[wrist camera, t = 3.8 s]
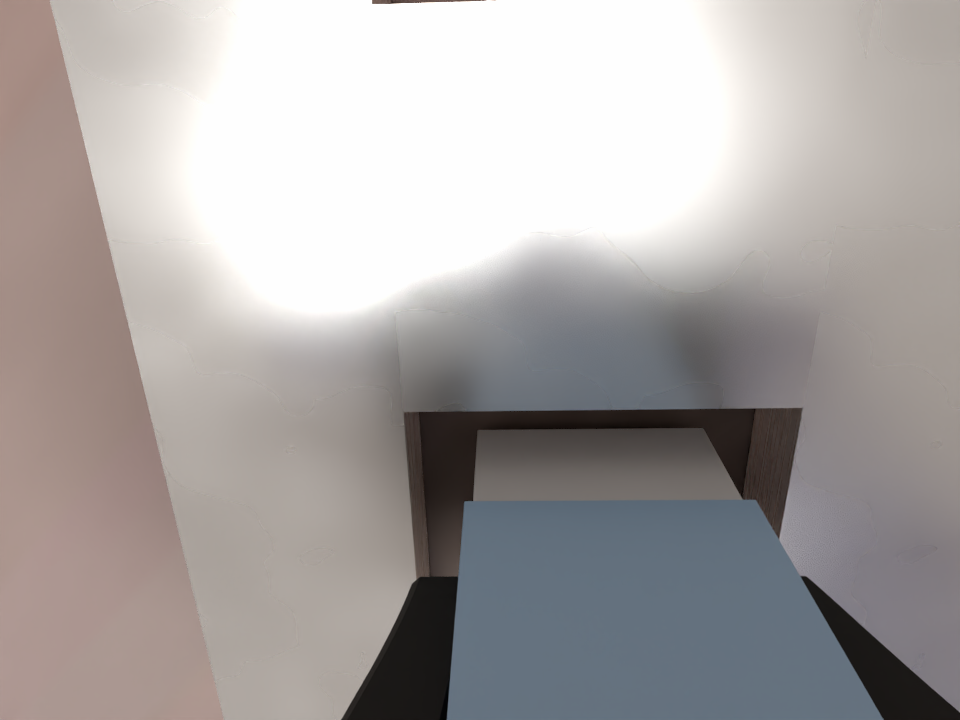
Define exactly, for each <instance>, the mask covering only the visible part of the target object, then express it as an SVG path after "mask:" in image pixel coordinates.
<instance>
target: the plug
mask: <svg viewBox="0 0 960 720" xmlns="http://www.w3.org/2000/svg"><path fill="white" fill-rule="evenodd" d="M447 720H883V718H882V716H881V715H880V713H879V711H878V709H877V708H876V706H875V704H874V703H873V701H872V699H871V697H870V696H869V694H868V692H867V690H866V689H865V687H864V685H863V684H862V682H861V680H860V678H859V677H858V675H857V673H856V672H855V670H854V668H853V666H852V665H851V663H850V661H849V659H848V658H847V656H846V654H845V653H844V651H843V649H842V647H841V646H840V644H839V642H838V641H837V639H836V637H835V635H834V634H833V632H832V630H831V629H830V627H829V625H828V623H827V622H826V620H825V618H824V616H823V615H822V613H821V611H820V610H819V608H818V606H817V604H816V603H815V601H814V599H813V598H812V596H811V594H810V592H809V591H808V589H807V587H806V585H805V584H804V582H803V580H802V579H801V577H800V575H799V573H798V572H797V570H796V568H795V567H794V565H793V563H792V561H791V560H790V558H789V556H788V555H787V553H786V551H785V549H784V548H783V546H782V544H781V542H780V541H779V539H778V537H777V536H776V534H775V532H774V530H773V529H772V527H771V525H770V524H769V522H768V520H767V518H766V517H765V515H764V513H763V511H762V510H761V508H760V506H759V505H758V503H757V501H756V500H743V499H742V498H741V496H740V494H739V492H738V490H737V489H736V487H735V485H734V483H733V481H732V479H731V478H730V476H729V474H728V472H727V470H726V469H725V467H724V465H723V463H722V461H721V460H720V458H719V456H718V454H717V452H716V450H715V449H714V447H713V445H712V443H711V441H710V440H709V438H708V436H707V434H706V432H705V430H704V429H703V428H648V429H534V430H477V446H476V462H475V479H474V495H473V501H464V513H463V526H462V538H461V550H460V563H459V575H458V587H457V600H456V612H455V624H454V637H453V649H452V661H451V673H450V686H449V698H448V710H447Z"/></svg>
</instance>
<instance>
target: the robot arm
mask: <svg viewBox="0 0 960 720" xmlns="http://www.w3.org/2000/svg"><path fill="white" fill-rule="evenodd" d="M800 577H801V579H802V580H803V582H804V584H805V585H806V587H807V589H808V591H809V592H810V594H811V596H812V598H813V599H814V601H815V603H816V604H817V606H818V608H819V610H820V611H821V613H822V615H823V616H824V618H825V620H826V622H827V623H828V625H829V627H830V629H831V630H832V632H833V634H834V635H835V637H836V639H837V641H838V642H839V644H840V646H841V647H842V649H843V651H844V653H845V654H846V656H847V658H848V659H849V661H850V663H851V665H852V666H853V668H854V670H855V672H856V673H857V675H858V677H859V678H860V680H861V682H862V684H863V685H864V687H865V689H866V690H867V692H868V694H869V696H870V697H871V699H872V701H873V703H874V704H875V706H876V708H877V709H878V711H879V713H880V715H881V716H882V718H883V720H960V712H959V711H958V710H956V709H955V708H954V707H953V706H952V705H951V704H950V703H948V702H947V701H946V700H945V699H944V698H943V697H941V696H940V695H939V694H938V693H937V692H936V691H935V690H933V689H932V688H931V687H930V686H929V685H928V684H927V683H925V682H924V681H923V680H922V679H921V678H920V677H919V676H917V675H916V674H915V673H914V672H913V671H912V670H911V669H910V668H908V667H907V666H906V665H905V664H904V663H903V662H902V661H901V660H899V659H898V658H897V657H896V656H895V655H894V654H893V653H892V652H890V651H889V650H888V649H887V648H886V647H885V646H884V645H883V644H882V643H880V642H879V641H878V640H877V639H876V638H875V637H874V636H873V635H872V634H870V633H869V632H868V631H867V630H866V629H865V628H864V627H863V626H862V625H861V624H859V623H858V622H857V621H856V620H855V619H854V618H853V617H852V616H851V615H850V614H848V613H847V612H846V611H845V610H844V609H843V608H842V607H841V606H840V605H838V604H837V603H836V602H835V601H834V600H833V599H832V598H831V597H830V596H828V595H827V594H826V593H825V592H824V591H823V590H822V589H821V588H819V587H818V586H817V585H816V584H815V583H814V582H813V581H811V580H810V579H809V578H808V577H807V576H800ZM457 587H458V577H419V578H418V579H417V580H416V581H414V582H413V583H412V584H411V587H410V590H409V592H408V595H407V597H406V599H405V602H404V604H403V606H402V608H401V611H400V613H399V615H398V617H397V619H396V621H395V623H394V625H393V627H392V629H391V631H390V633H389V635H388V637H387V639H386V641H385V643H384V645H383V647H382V649H381V651H380V653H379V654H378V656H377V658H376V660H375V662H374V664H373V666H372V667H371V669H370V671H369V673H368V674H367V676H366V678H365V679H364V681H363V683H362V685H361V686H360V688H359V690H358V691H357V693H356V695H355V697H354V698H353V700H352V702H351V704H350V705H349V707H348V709H347V710H346V712H345V714H344V716H343V717H342V719H341V720H447V710H448V698H449V686H450V673H451V661H452V649H453V637H454V624H455V612H456V600H457Z"/></svg>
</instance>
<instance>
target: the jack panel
mask: <svg viewBox="0 0 960 720" xmlns="http://www.w3.org/2000/svg"><path fill="white" fill-rule="evenodd" d="M50 3H51V7H52V11H53V15H54V19H55V23H56V27H57V32H58V36H59V40H60V44H61V48H62V52H63V56H64V61H65V65H66V69H67V73H68V77H69V81H70V85H71V90H72V94H73V98H74V102H75V106H76V110H77V114H78V118H79V123H80V127H81V131H82V135H83V139H84V143H85V147H86V152H87V156H88V160H89V164H90V168H91V172H92V176H93V180H94V185H95V189H96V193H97V197H98V201H99V205H100V209H101V214H102V218H103V222H104V226H105V230H106V234H107V238H108V242H109V247H110V251H111V255H112V259H113V263H114V267H115V271H116V276H117V280H118V284H119V288H120V292H121V296H122V300H123V305H124V309H125V313H126V317H127V321H128V325H129V329H130V333H131V338H132V342H133V346H134V350H135V354H136V358H137V362H138V367H139V371H140V375H141V379H142V383H143V387H144V391H145V395H146V400H147V404H148V408H149V412H150V416H151V420H152V424H153V429H154V433H155V437H156V441H157V445H158V449H159V453H160V458H161V462H162V466H163V470H164V474H165V478H166V482H167V486H168V491H169V495H170V499H171V503H172V507H173V511H174V515H175V520H176V524H177V528H178V532H179V536H180V540H181V544H182V548H183V553H184V557H185V561H186V565H187V569H188V573H189V577H190V582H191V586H192V590H193V594H194V598H195V602H196V606H197V610H198V615H199V619H200V623H201V627H202V631H203V635H204V639H205V644H206V648H207V652H208V656H209V660H210V664H211V668H212V673H213V677H214V681H215V685H216V689H217V693H218V697H219V701H220V706H221V710H222V714H223V718H224V720H341V719H342V717H343V716H344V714H345V712H346V710H347V709H348V707H349V705H350V704H351V702H352V700H353V698H354V697H355V695H356V693H357V691H358V690H359V688H360V686H361V685H362V683H363V681H364V679H365V678H366V676H367V674H368V673H369V671H370V669H371V667H372V666H373V664H374V662H375V660H376V658H377V656H378V654H379V653H380V651H381V649H382V647H383V645H384V643H385V641H386V639H387V637H388V635H389V633H390V631H391V629H392V627H393V625H394V623H395V621H396V619H397V617H398V615H399V613H400V611H401V608H402V606H403V604H404V602H405V599H406V597H407V595H408V592H409V590H410V587H411V584H412V583H413V582H414V581H416V580H417V579H418V578H419V577H430V567H429V552H428V538H427V523H426V508H425V493H424V478H423V464H422V449H421V434H420V419H419V412H457V411H553V410H649V409H745V408H756V409H755V416H754V423H753V429H752V436H751V443H750V449H749V456H748V463H747V469H746V476H745V483H744V489H743V496H742V499H743V500H756V501H757V503H758V505H759V506H760V508H761V510H762V511H763V513H764V515H765V517H766V518H767V520H768V522H769V524H770V525H771V527H772V529H773V530H774V532H775V534H776V536H777V537H778V539H779V541H780V542H781V544H782V546H783V548H784V549H785V551H786V553H787V555H788V556H789V558H790V560H791V561H792V563H793V565H794V567H795V568H796V570H797V572H798V573H799V575H800V576H807V577H808V578H809V579H810V580H811V581H813V582H814V583H815V584H816V585H817V586H818V587H819V588H821V589H822V590H823V591H824V592H825V593H826V594H827V595H828V596H830V597H831V598H832V599H833V600H834V601H835V602H836V603H837V604H838V605H840V606H841V607H842V608H843V609H844V610H845V611H846V612H847V613H848V614H850V615H851V616H852V617H853V618H854V619H855V620H856V621H857V622H858V623H859V624H861V625H862V626H863V627H864V628H865V629H866V630H867V631H868V632H869V633H870V634H872V635H873V636H874V637H875V638H876V639H877V640H878V641H879V642H880V643H882V644H883V645H884V646H885V647H886V648H887V649H888V650H889V651H890V652H892V653H893V654H894V655H895V656H896V657H897V658H898V659H899V660H901V661H902V662H903V663H904V664H905V665H906V666H907V667H908V668H910V669H911V670H912V671H913V672H914V673H915V674H916V675H917V676H919V677H920V678H921V679H922V680H923V681H924V682H925V683H927V684H928V685H929V686H930V687H931V688H932V689H933V690H935V691H936V692H937V693H938V694H939V695H940V696H941V697H943V698H944V699H945V700H946V701H947V702H948V703H950V704H951V705H952V706H953V707H954V708H955V709H956V710H958V711H959V712H960V0H507V1H474V2H441V3H408V4H391V0H50Z"/></svg>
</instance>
